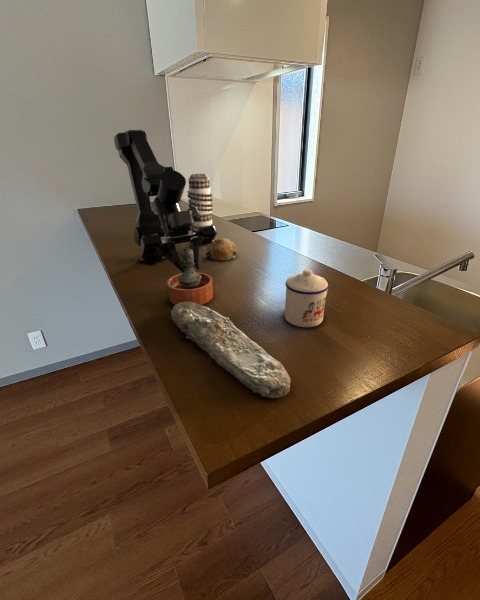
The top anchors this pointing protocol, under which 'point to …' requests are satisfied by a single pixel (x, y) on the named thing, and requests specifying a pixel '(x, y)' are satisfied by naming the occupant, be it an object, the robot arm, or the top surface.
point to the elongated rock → (232, 349)
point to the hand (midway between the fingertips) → (190, 270)
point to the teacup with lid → (305, 299)
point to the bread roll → (221, 250)
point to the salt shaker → (189, 271)
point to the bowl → (190, 290)
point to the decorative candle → (200, 199)
